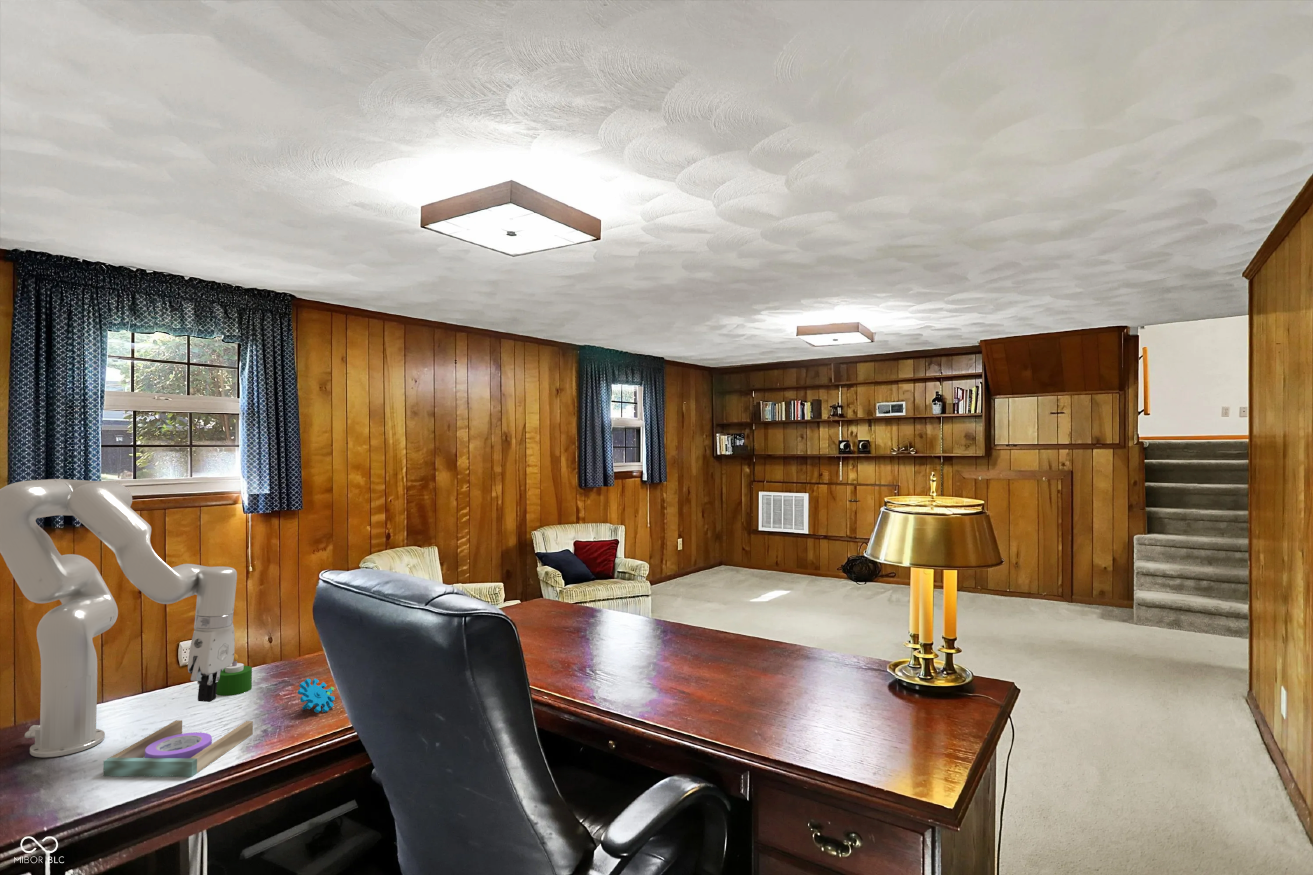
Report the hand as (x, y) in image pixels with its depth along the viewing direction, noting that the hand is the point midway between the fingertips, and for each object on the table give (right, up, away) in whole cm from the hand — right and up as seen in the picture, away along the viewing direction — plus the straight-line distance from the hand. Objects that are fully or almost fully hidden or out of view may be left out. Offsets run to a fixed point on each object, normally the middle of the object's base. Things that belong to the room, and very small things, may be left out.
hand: (206, 700), depth 158 cm
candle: (-11, -9, +28) cm, 32 cm away
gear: (+18, -9, +15) cm, 25 cm away
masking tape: (+3, -8, -13) cm, 15 cm away
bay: (+1, -8, -10) cm, 12 cm away
